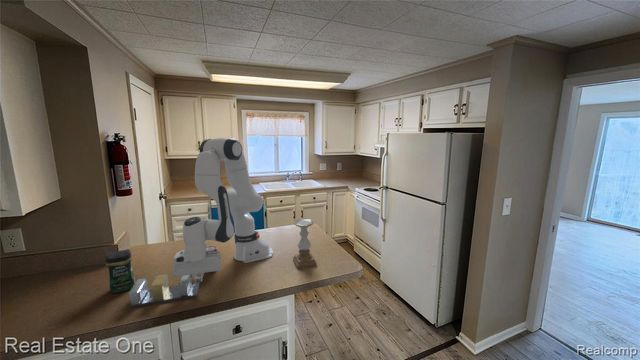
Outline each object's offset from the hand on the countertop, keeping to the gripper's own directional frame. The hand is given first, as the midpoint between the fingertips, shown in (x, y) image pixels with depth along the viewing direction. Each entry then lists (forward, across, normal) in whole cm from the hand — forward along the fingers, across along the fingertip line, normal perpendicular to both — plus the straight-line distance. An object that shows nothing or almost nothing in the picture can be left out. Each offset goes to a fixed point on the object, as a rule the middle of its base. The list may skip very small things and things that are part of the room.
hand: (198, 281), depth 120 cm
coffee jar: (+5, +35, -12) cm, 37 cm away
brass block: (+3, +16, 0) cm, 16 cm away
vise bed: (+5, +13, 0) cm, 14 cm away
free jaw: (+3, +6, -4) cm, 7 cm away
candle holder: (+5, -52, -11) cm, 54 cm away
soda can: (+5, -3, -18) cm, 19 cm away
